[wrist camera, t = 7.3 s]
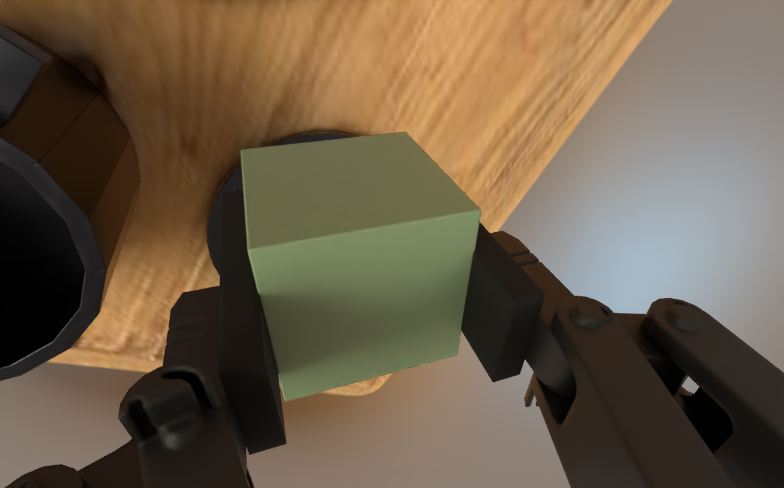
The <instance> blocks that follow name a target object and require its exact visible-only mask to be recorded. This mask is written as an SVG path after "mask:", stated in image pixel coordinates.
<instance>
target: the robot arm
mask: <svg viewBox="0 0 784 488" xmlns="http://www.w3.org/2000/svg"><path fill="white" fill-rule="evenodd" d="M461 331H462V332H463V334H464V336H465V337H466V339H467V340H468V342H469V344H470V345H471V347H472V349H473V350H474V352H475V353H476V355H477V357H478V358H479V360H480V362H481V363H482V365H483V367H484V368H485V370H486V372H487V373H488V375H489V377H490V378H491V380H492V382H496V381H499V380H503V379H506V378H509V377H513V376H516V375H519V374H520V372H521V369H522V366H523V363H524V360H526V361H527V363H528V364H529V365H530V367H531V368H532V370H533V371H534V373H533V376H532V378H531V381H530V384H529V387H528V390H527V392H526V395H525V398H524V399H525V406H526V407H529V406H530V405H531V403H532V400H533V397H534V395H535V397H536V400H537V402H536V406H539V407H540V410H541V412H542V415H543V417H544V420H545V422H546V425H547V428H548V430H549V433H550V435H551V438H552V440H553V443H554V446H555V448H556V451H557V453H558V455H559V458H560V461H561V463H562V466H563V469H564V471H565V473H566V476H567V479H568V481H569V484H570V486H571V488H784V373H783V372H782V371H781V370H779V369H778V368H777V367H775V366H774V365H773V364H772V363H770V362H769V361H768V360H767V359H765V358H764V357H763V356H761V355H760V354H759V353H758V352H756V351H755V350H754V349H752V348H751V347H750V346H749V345H747V344H746V343H745V342H743V341H742V340H741V339H740V338H738V337H737V336H736V335H734V334H733V333H732V332H730V331H729V330H728V329H727V328H725V327H724V326H723V325H722V324H720V323H719V322H718V321H717V320H715V319H714V318H713V317H711V316H710V315H709V314H707V313H706V312H705V311H703V310H701V309H700V308H698V307H696V306H695V305H693V304H690V303H688V302H685V301H683V300H678V299H672V298H664V299H658V300H656V301H655V302H653V303H652V304H651V306H650V308H649V310H648V312H647V314H628V313H613V311H612V310H610V308H609V307H607V306H606V305H604V304H602V303H600V302H599V301H597V300H594V299H591V298H588V297H583V296H574V295H573V294H572V293H571V292H570V291H569V290H568V289H567V288H566V287H565V286H564V285H563V284H562V283H561V282H560V281H559V280H558V279H557V278H556V277H555V276H554V275H553V274H552V273H551V272H550V271H549V270H548V269H547V268H546V267H545V266H544V265H543V264H542V263H541V262H540V263H539V260H538V259H537V258H536V257H535V256H534V255H533V254H532V253H530V251H529V250H528V249H527V248H526V247H525V246H524V244H523V243H521V241H520V240H519V239H517V238H515V237H513V236H511V235H509V234H508V233H506V232H504V231H499V232H494V233H489V232H488V231H487V230H486V228H485V227H484V226H483V225H482V224H481V223H480V222H479V228H478V234H477V240H476V246H475V251H473V257H472V264H471V270H470V276H469V282H468V288H467V294H466V300H465V306H464V312H463V318H462V324H461ZM166 342H167V345H166V348H165V354H164V361H163V366H162V367H159V368H157V369H155V370H153V371H152V372H150V373H148V374H146V375H144V376H143V377H142V378H141V379H139V380H138V381H137V382H136V383H135V384H134V385H133V386H132V387H131V388H130V389H129V390H128V392H127V393H126V395H125V397H124V398H123V400H122V402H121V403H120V409H119V415H118V418H119V420H120V422H121V423H122V424H123V426H124V427H125V429H126V430H127V432H128V433H129V434H130V436H131V437H132V439H131V440H130V441H129V442H128V443H127V444H125V445H123V446H122V447H120V448H118V449H117V450H115V451H114V452H112V453H110V454H108V455H106V456H104V457H103V458H101V459H99V460H97V461H95V462H94V463H92V464H90V465H88V466H86V467H84V468H83V469H81V470H79V471H76V470H75V469H74V468H70V467H68V466H65V465H62V464H60V465H52V466H44V467H41V468H39V469H36V470H34V471H32V472H29V473H27V474H24V475H22V476H21V477H20V478H18V479H16V480H15V481H14V482H12V483H11V484H10V485H8V486H6V487H5V488H254V485H253V482H252V479H251V476H250V474H249V471H248V469H247V460H246V447H247V449H248V452H249V455H250V454H253V453H257V452H261V451H264V450H267V449H271V448H274V447H277V446H281V445H284V444H286V436H285V428H284V419H283V411H282V403H281V395H280V387H279V378H278V372H277V368H276V364H275V360H274V356H273V352H272V348H271V344H270V339H269V335H268V331H267V327H266V323H265V319H264V315H263V311H262V307H261V303H260V299H259V295H258V291H257V287H256V283H255V279H254V275H253V271H252V267H251V263H250V259H249V255H248V250H247V236H246V222H245V208H244V193H243V189H242V190H235V191H227V192H221V239H220V286H215V287H210V288H205V289H200V290H194V291H189V292H184V293H182V295H181V296H180V298H179V299H178V300H177V302H176V303H175V305H174V306H173V308H172V309H171V314H170V321H169V330H168V334H167V341H166ZM688 376H689V377H690V378H691V379H692V380H693V381H694V382H695V383H696V384H697V385H698V386H699V388H698V390H697V391H696V392H695V393H691V392H688V391H686V390H685V389H684V388H683V387H682V384H683V383H684V382H685V380H686V379H687V377H688Z"/></svg>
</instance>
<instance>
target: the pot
mask: <svg viewBox="0 0 784 488" xmlns="http://www.w3.org/2000/svg"><path fill="white" fill-rule="evenodd" d="M139 183H140V174H139V166H138V159H137V155H136V152H135V148H134V145H133V142H132V140H131V138H130V136H129V133H128V131H127V129H126V127H125V125H124V124H123V122H122V120H121V119H120V117H119V115H118V114H117V112H116V111H115V110H114V108H113V107H112V106H111V104H110V103H109V102H108V100H107V99H106V98H105V97H104V95H103V94H102V93H101V92H100V91H99V90H98V89H97V88H96V87H95V86H94V85H93V84H92V83H91V82H90V81H89V80H88V79H87V78H86V77H85V76H84V75H82V74H81V73H80V72H79V71H78V70H77V69H75V68H74V67H73V66H72V65H71V64H70V63H68V62H67V61H65V60H64V59H62V58H61V57H60V56H58V55H57V54H55V53H54V52H53V51H51V50H50V49H48V48H47V47H45V46H43V45H41V44H40V43H38V42H36V41H35V40H33V39H31V38H29V37H28V36H26V35H24V34H22V33H20V32H18V31H16V30H14V29H11V28H9V27H7V26H5V25H3V24H1V23H0V381H2V380H5V379H9V378H13V377H17V376H21V375H23V374H25V373H27V372H28V371H30V370H32V369H34V368H36V367H37V366H39V365H41V364H43V363H45V362H46V361H48V360H50V359H52V358H54V357H55V356H57V355H59V354H61V353H63V352H64V351H66V350H68V349H69V348H71V347H72V346H73V345H74V343H75V342H76V341H77V340H78V339H79V337H80V336H81V335H82V334H83V333H84V331H85V330H86V329H87V328H88V326H89V325H90V324H91V323H92V322H93V320H94V319H95V318H96V317H97V316H98V314H99V312H100V310H101V307H102V304H103V301H104V298H105V295H106V292H107V289H108V287H109V284H110V281H111V278H112V275H113V272H114V269H115V266H116V263H117V260H118V257H119V254H120V251H121V248H122V245H123V243H124V240H125V237H126V234H127V231H128V228H129V225H130V222H131V219H132V216H133V213H134V208H135V203H136V199H137V195H138V190H139Z"/></svg>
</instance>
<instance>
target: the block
mask: <svg viewBox="0 0 784 488" xmlns="http://www.w3.org/2000/svg"><path fill="white" fill-rule="evenodd" d="M241 165H242V179H243V193H244V208H245V222H246V236H247V250H248V255H249V259H250V263H251V267H252V271H253V275H254V279H255V283H256V287H257V291H258V295H259V299H260V303H261V307H262V311H263V315H264V319H265V323H266V327H267V331H268V335H269V339H270V344H271V348H272V352H273V356H274V360H275V364H276V368H277V372H278V376H279V381H280V385H281V389H282V393H283V397H284V400H285V401H290V400H293V399H297V398H301V397H304V396H308V395H312V394H316V393H319V392H323V391H327V390H330V389H334V388H338V387H341V386H345V385H349V384H353V383H356V382H360V381H364V380H367V379H371V378H375V377H378V376H382V375H386V374H389V373H393V372H397V371H400V370H404V369H407V368H412V367H415V366H419V365H423V364H426V363H430V362H434V361H437V360H441V359H445V358H449V357H452V356H456V355H457V354H458V348H459V342H460V336H461V324H462V318H463V312H464V306H465V300H466V294H467V288H468V282H469V276H470V270H471V264H472V257H473V251H475V246H476V240H477V234H478V228H479V222H480V216H481V209H480V208H479V207H478V206H477V205H476V204H475V203H474V202H473V201H472V200H471V199H470V198H469V197H468V196H467V195H466V194H465V193H464V192H463V191H462V190H461V189H460V188H459V187H458V186H457V184H456V183H455V182H454V181H453V180H452V179H451V178H450V177H449V176H448V175H447V174H446V173H445V172H444V171H443V170H442V169H441V168H440V167H439V166H438V165H437V164H436V163H435V162H434V161H433V160H432V159H431V158H430V156H429V155H428V154H427V153H426V152H425V151H424V150H423V149H422V148H421V147H420V146H419V145H418V144H417V143H416V142H415V141H414V140H413V139H412V138H411V137H410V136H409V135H408V134H407V133H406V132H399V133H389V134H380V135H371V136H362V137H353V138H343V139H334V140H325V141H316V142H307V143H298V144H288V145H279V146H270V147H261V148H252V149H243V150H241Z"/></svg>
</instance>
